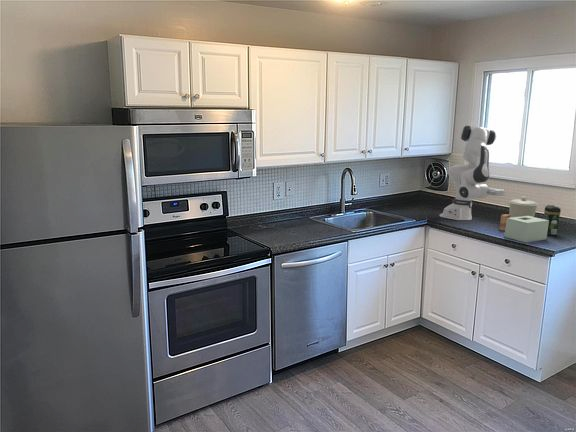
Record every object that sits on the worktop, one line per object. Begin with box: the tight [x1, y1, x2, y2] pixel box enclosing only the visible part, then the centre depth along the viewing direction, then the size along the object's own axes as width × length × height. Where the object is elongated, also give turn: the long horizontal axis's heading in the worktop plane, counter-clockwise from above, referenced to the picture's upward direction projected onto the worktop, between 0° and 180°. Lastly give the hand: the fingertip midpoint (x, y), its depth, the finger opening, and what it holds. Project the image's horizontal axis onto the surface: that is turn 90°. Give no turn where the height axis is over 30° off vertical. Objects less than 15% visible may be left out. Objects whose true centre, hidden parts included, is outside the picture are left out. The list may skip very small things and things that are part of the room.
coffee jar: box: [543, 204, 562, 236], centre depth 296 cm, size 10×8×19 cm
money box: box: [503, 216, 549, 243], centre depth 284 cm, size 20×14×12 cm
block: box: [498, 214, 511, 232], centre depth 306 cm, size 6×3×10 cm, turn 117°
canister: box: [508, 195, 539, 218], centre depth 315 cm, size 18×18×21 cm
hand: (496, 190), depth 296 cm, fingers open, 8 cm apart
